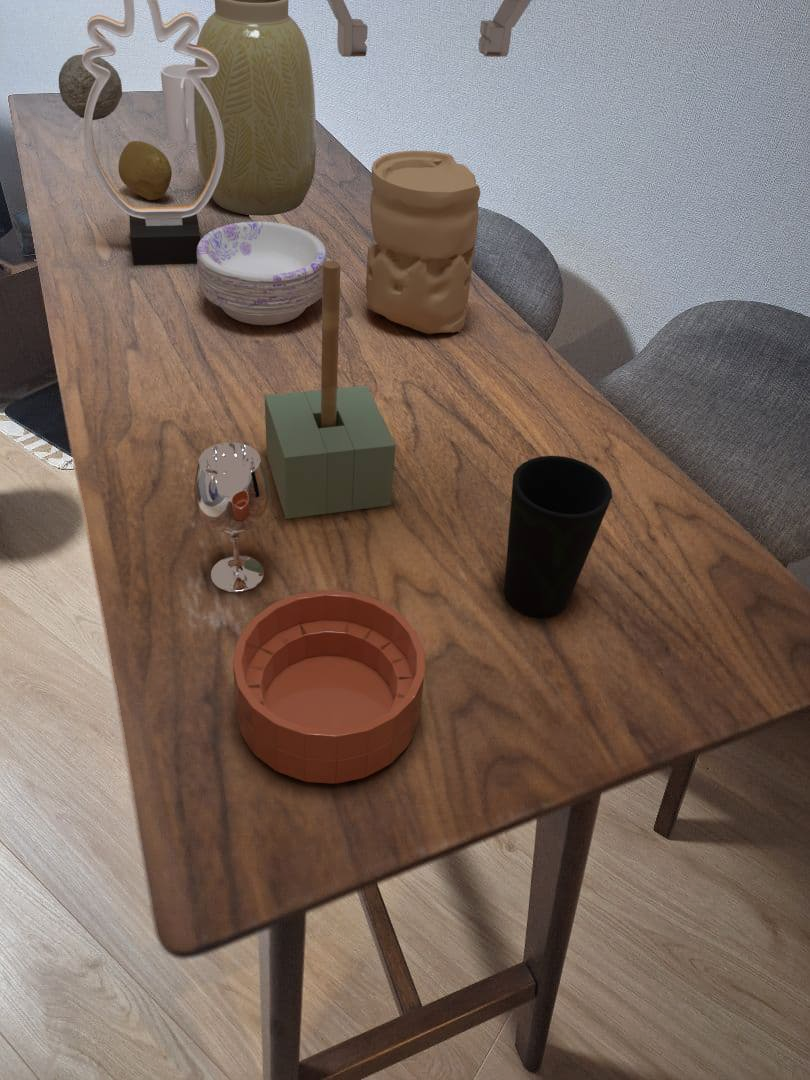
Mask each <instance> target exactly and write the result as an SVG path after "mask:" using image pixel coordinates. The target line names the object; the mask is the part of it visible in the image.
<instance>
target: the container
mask: <svg viewBox="0 0 810 1080" xmlns="http://www.w3.org/2000/svg"><path fill="white" fill-rule="evenodd" d="M370 175H371V177H370V178H371V179H370V181H371V185H372V188H373V189H372V191H371V194H370V201H369V211H370V222H371V229H372V236H373V241H374V242H375V243H376V244H370V245H369V246H368V247H367V257H366V258H367V259H366V275H365V276H366V277H365V278H366V279H365V294H366V295H365V296H366V302H367V305H368V307H367V309H368V310H370V311H372V312H373V313H375V314H377V315H381V316H382V317H385V318H386V319H387V320H389V321H390V322H393V323H396V324H399V325H402V326H405V327H408V328H410V329H413V330H415V331H418V332H420V333H423V334H426V335H433V334H440V333H441V334H442V333H453V334H454V333H459V332H461V331H462V329H463V328H464V327H465V321H466V318H467V305H468V303H469V295H470V288H471V279H472V273H473V265H474V256H475V250H476V242H477V234H478V227H479V218H480V213H479V200H480V197H481V188H480V186H479V184H477V180H476V175H475V174H474V172H472V171H471V170H470V169H469V167H467V166H466V165H465V164H463V163H458V162H457V161H456V160H455V158H454V156H453V155H451V153H445V152H440V151H430V150H402V151H396V152H390V153H387V154H383V155H381V156H380V157H378V158H377V159H376V160H375V161H373V163H372V166H371V174H370Z"/></svg>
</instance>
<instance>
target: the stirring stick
mask: <svg viewBox="0 0 810 1080" xmlns="http://www.w3.org/2000/svg"><path fill="white" fill-rule="evenodd" d="M326 261H327V262H324V264H323V295H322V306H321V308H322V310H321V311H322V317H321V318H322V319H321V328H322V329H321V376H320V377H321V379H320V380H321V383H320V384H321V385H320V386H321V387H320V390H321V428H326V427H336V410H337V388H338V373H339V372H338V371H339V370H338V368H339V334H340V331H339V330H340V300H341V299H340V298H341V297H340V295H341V267H342V266H341V264H340V262H338V261H335V260H326Z"/></svg>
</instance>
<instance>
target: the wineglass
mask: <svg viewBox="0 0 810 1080" xmlns="http://www.w3.org/2000/svg"><path fill="white" fill-rule="evenodd" d="M196 467H197V468H196V472H195V478H194V479H195V480H194V487H193V489H194V490H193V491H194V492H193V493H194V502H195V506H196V510H197V512H198V515H199V516H200V518H201V519H202V521H203V522H204V523H205V524H206V525H207V526H209V527H210V528H211V529H213V530H215V531H218V532H221V533H226V534H228V537H229V540H230V542H231V545H232V553H233V555H230V556H226V557H224V558H222V559H220V560H218V561H217V562H216V563H215V564H214V565H213V567H212V568H211V571H210V579H211V582H212V583H213V584H214V586H215V587H217V588H218V589H220V590H222V591H225V592H228V593H243V592H247V591H251V590H252V589H254V588H256V587H257V586H258V585H260V583H261V582H262V581H263V579H264V576H265V569H264V567H263V565H262V564H261V562H260V561H258V560H257V559H255V558H254V557H251V556H249V555H240V549H239V547H240V541H241V537H242V533H244V532H246V531H250V530H251V529H253V528H255V527H256V526H257V525H258V524H259V523H260V522H261V521H262V520H263V519H264V517H265V516H266V514H267V511H268V508H269V501H270V486H269V480H268V476H267V472H266V469H265V467H264V464H263V461H262V458H261V455H260V453H259V452H258V451H257V450H256V449H255V448H253V447H252V446H250V445H248V444H245V443H241V442H230V441H229V442H221V443H217V444H214V445H212V446H209V447H208V448H205V450H204V451H202V452H201V454H200V456H199V458H198V463H197V466H196Z"/></svg>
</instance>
